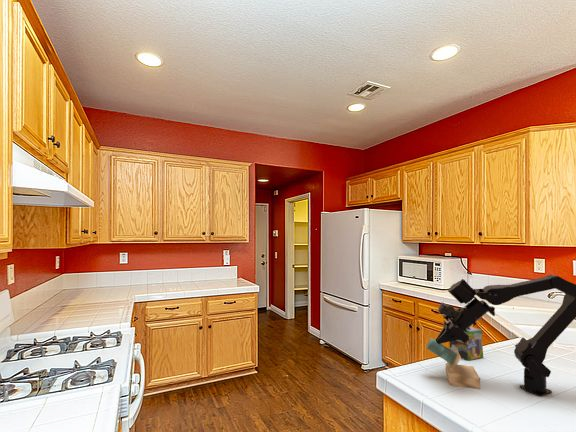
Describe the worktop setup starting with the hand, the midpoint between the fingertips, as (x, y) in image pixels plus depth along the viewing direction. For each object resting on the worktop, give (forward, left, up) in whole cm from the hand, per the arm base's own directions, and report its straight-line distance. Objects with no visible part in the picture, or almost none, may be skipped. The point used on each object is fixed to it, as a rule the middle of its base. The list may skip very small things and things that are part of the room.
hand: (436, 342), depth 117 cm
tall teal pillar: (-4, +4, -6) cm, 8 cm away
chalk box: (-28, -10, -13) cm, 32 cm away
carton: (-6, +5, -12) cm, 15 cm away
